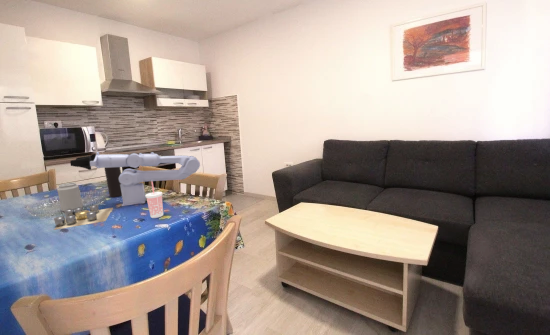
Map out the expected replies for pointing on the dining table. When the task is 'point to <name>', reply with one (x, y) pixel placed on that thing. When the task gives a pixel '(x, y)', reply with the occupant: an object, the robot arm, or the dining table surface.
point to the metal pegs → (71, 216)
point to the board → (101, 217)
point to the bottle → (113, 181)
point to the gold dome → (81, 215)
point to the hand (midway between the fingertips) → (73, 161)
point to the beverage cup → (155, 203)
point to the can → (69, 196)
